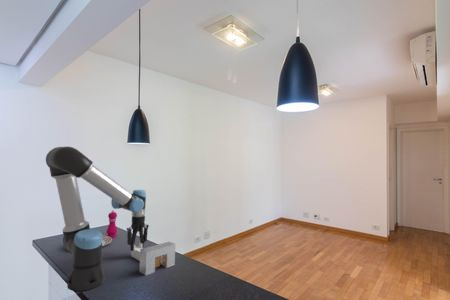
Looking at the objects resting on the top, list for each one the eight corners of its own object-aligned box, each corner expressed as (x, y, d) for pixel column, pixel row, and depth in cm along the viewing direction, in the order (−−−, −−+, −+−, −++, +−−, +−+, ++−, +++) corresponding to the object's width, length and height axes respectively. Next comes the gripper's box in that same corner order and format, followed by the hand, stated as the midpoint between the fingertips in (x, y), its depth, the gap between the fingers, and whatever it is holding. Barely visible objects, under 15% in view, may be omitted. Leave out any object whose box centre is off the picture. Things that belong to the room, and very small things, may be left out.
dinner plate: (119, 240, 176) (119, 235, 177) (95, 254, 149) (96, 249, 149) (83, 238, 179) (84, 233, 179) (54, 251, 152) (54, 246, 152)
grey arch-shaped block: (174, 264, 137) (175, 244, 138) (145, 275, 124) (146, 252, 124) (168, 261, 141) (169, 241, 142) (139, 271, 128) (140, 249, 128)
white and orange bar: (159, 266, 135) (160, 256, 135) (153, 268, 132) (153, 258, 132) (137, 254, 151) (137, 246, 151) (130, 256, 148) (131, 247, 148)
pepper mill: (118, 235, 186) (119, 209, 187) (114, 238, 179) (115, 211, 180) (108, 235, 186) (110, 209, 187) (104, 238, 179) (105, 211, 180)
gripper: (128, 219, 139) (126, 260, 138) (154, 214, 152) (152, 252, 151) (121, 216, 144) (119, 257, 143) (147, 212, 157) (146, 249, 156)
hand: (136, 254), depth 147 cm, fingers closed on white and orange bar, 4 cm apart
